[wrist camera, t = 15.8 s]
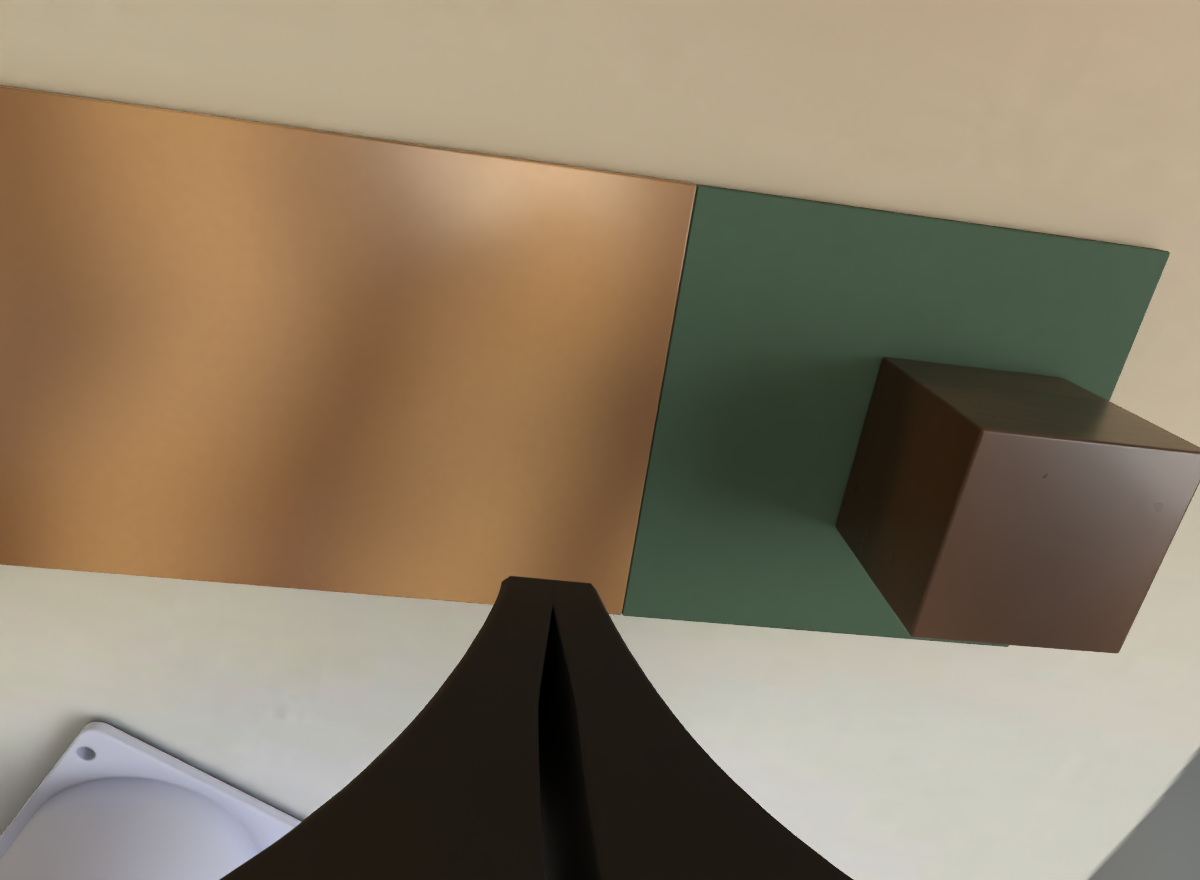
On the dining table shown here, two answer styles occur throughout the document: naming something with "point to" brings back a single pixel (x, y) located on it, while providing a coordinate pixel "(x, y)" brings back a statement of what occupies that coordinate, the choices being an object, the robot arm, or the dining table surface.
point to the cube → (1011, 506)
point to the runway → (323, 354)
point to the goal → (837, 385)
